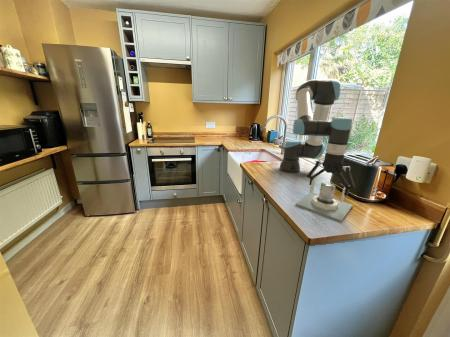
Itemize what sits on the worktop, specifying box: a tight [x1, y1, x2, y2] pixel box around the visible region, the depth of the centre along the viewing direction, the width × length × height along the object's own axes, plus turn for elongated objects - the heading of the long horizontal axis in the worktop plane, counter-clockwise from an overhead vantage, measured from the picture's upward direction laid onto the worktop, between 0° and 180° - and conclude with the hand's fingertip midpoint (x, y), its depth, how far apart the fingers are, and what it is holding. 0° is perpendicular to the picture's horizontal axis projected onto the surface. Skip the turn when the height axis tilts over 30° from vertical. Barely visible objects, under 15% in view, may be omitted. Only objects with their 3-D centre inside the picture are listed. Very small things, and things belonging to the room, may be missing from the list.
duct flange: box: [295, 191, 354, 223], centre depth 92 cm, size 20×20×3 cm
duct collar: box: [318, 182, 336, 204], centre depth 90 cm, size 6×6×10 cm
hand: (325, 196), depth 91 cm, fingers open, 13 cm apart
